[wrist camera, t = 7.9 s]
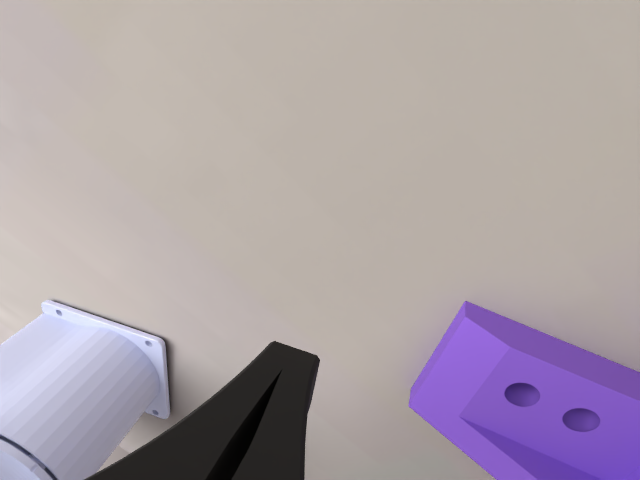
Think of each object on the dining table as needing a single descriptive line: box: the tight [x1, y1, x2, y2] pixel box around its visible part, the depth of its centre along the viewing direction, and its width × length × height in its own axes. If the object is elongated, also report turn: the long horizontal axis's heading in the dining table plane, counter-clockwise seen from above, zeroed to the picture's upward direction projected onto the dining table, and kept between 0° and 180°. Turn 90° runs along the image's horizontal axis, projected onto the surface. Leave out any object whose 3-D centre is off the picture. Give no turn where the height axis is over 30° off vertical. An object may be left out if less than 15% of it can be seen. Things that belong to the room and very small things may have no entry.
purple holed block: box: [409, 301, 640, 480], centre depth 19 cm, size 12×7×7 cm, turn 74°
